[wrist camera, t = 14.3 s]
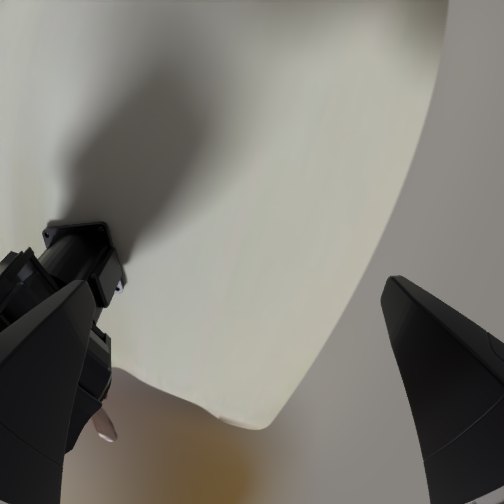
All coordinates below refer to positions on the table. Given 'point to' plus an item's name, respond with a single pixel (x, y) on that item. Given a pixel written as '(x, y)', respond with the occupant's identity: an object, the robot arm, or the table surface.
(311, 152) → the table surface
